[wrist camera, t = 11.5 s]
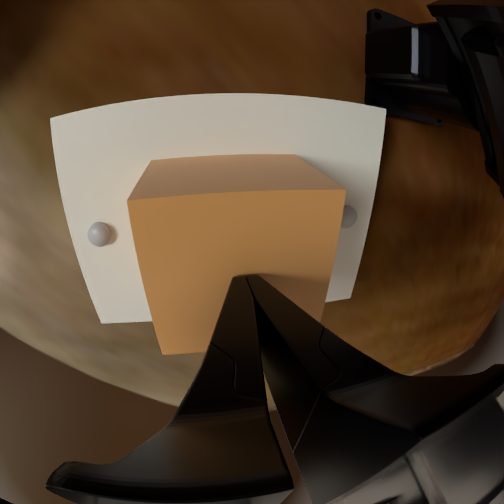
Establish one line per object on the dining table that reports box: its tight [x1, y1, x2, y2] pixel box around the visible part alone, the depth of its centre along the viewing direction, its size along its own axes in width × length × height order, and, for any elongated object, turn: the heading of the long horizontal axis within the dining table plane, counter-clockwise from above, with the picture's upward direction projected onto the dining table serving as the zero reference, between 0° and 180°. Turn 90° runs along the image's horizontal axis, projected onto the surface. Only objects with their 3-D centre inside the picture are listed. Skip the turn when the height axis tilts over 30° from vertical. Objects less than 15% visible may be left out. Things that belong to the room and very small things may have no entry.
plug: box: [127, 154, 346, 355], centre depth 12 cm, size 6×6×7 cm
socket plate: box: [50, 93, 386, 323], centre depth 14 cm, size 16×12×2 cm
